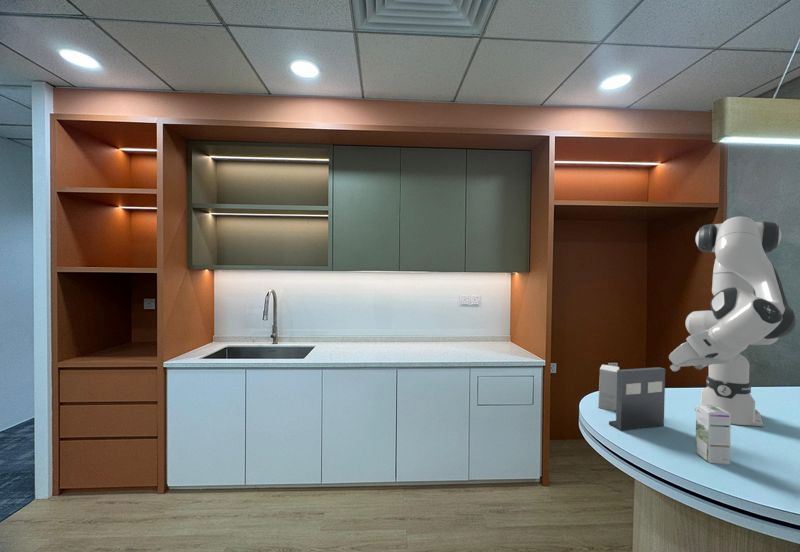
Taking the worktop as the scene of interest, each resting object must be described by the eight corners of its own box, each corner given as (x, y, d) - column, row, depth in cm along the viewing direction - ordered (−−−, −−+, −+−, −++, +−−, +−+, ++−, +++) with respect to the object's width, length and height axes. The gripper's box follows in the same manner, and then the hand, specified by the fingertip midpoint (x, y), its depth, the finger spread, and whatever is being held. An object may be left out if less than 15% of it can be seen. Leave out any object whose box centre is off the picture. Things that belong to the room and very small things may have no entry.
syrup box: (731, 465, 99) (732, 413, 99) (707, 463, 100) (708, 411, 100) (716, 454, 105) (717, 405, 105) (694, 452, 106) (695, 404, 105)
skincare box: (600, 401, 147) (601, 363, 147) (619, 405, 143) (620, 366, 143) (597, 408, 140) (598, 368, 140) (617, 412, 136) (618, 371, 136)
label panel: (650, 420, 129) (651, 364, 128) (664, 426, 124) (666, 368, 123) (608, 424, 125) (610, 367, 124) (621, 431, 119) (622, 371, 119)
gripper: (738, 333, 108) (702, 357, 117) (684, 336, 103) (652, 361, 113) (755, 351, 103) (717, 375, 113) (700, 355, 99) (666, 379, 108)
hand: (684, 368), depth 113 cm, fingers open, 8 cm apart
